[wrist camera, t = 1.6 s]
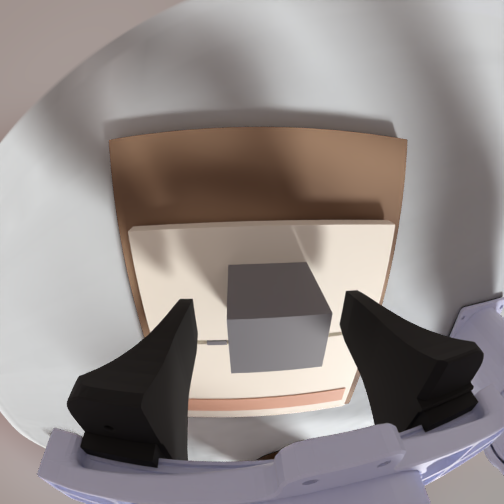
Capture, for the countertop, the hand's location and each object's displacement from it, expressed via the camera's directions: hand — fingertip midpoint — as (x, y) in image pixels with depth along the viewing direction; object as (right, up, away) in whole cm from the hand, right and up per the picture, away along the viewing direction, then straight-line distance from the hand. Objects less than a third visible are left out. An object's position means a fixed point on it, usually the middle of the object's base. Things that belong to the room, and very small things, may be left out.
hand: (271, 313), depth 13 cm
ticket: (0, -6, +6) cm, 9 cm away
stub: (0, +1, +3) cm, 3 cm away
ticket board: (0, -1, +5) cm, 5 cm away
